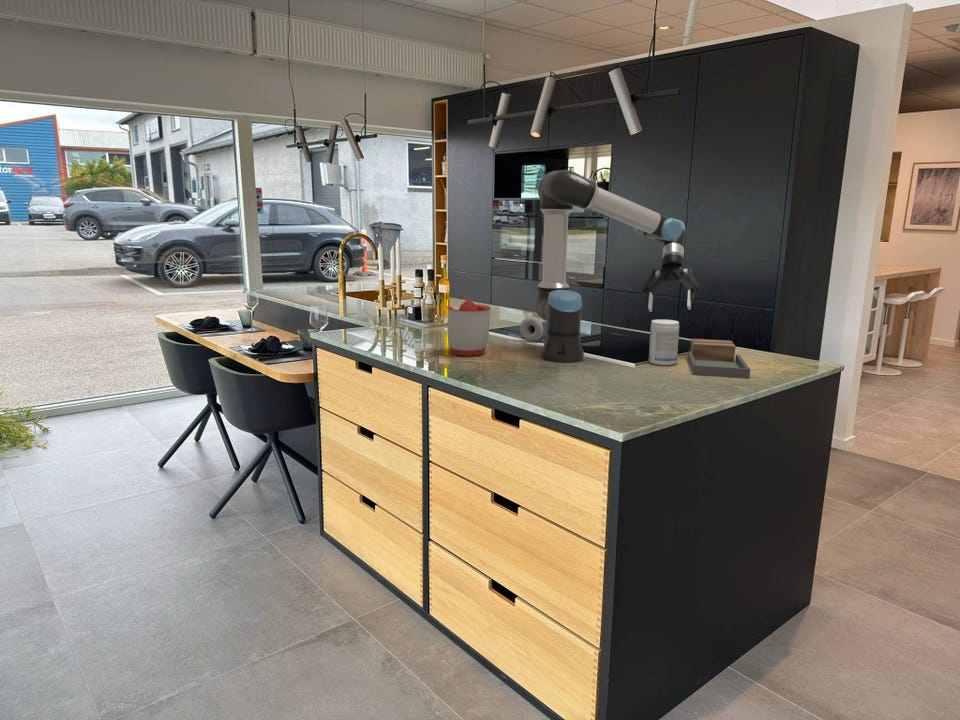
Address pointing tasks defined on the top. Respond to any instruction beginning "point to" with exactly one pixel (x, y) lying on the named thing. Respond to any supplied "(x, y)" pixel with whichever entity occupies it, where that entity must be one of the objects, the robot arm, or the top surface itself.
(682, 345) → the top surface
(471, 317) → the citrus juicer
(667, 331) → the supplement tub
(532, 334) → the donut
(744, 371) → the grey shallow rectangular tray
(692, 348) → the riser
